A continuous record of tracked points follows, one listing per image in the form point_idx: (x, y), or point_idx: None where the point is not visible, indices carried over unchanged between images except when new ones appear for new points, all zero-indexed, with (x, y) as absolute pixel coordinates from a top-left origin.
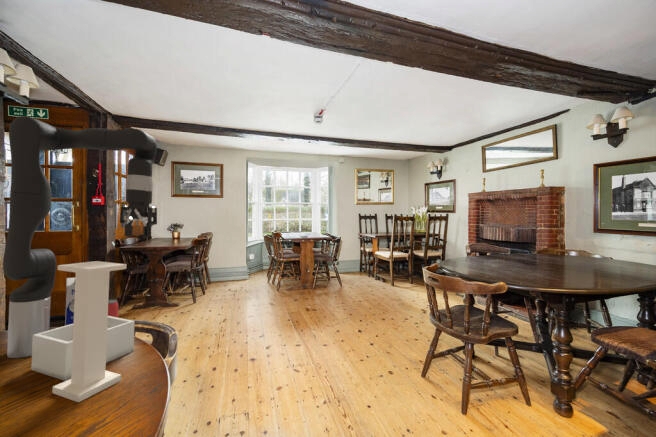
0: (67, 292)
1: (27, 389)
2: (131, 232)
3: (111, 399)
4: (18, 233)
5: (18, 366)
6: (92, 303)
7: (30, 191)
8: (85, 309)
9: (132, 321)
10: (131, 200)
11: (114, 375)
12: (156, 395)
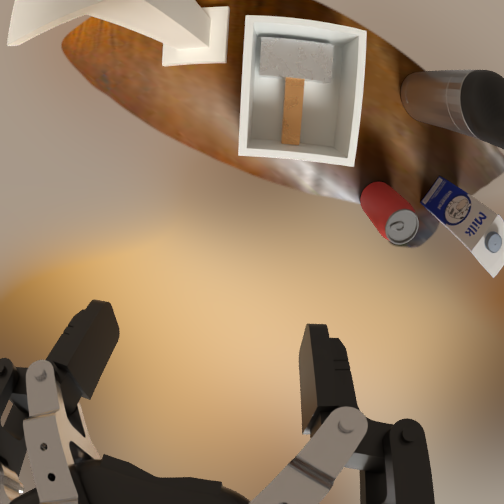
0: (487, 207)
1: (278, 4)
2: (302, 375)
3: (135, 37)
4: None
5: (379, 50)
6: None
7: None
8: None
9: (240, 151)
10: None
11: (170, 59)
12: (93, 72)
